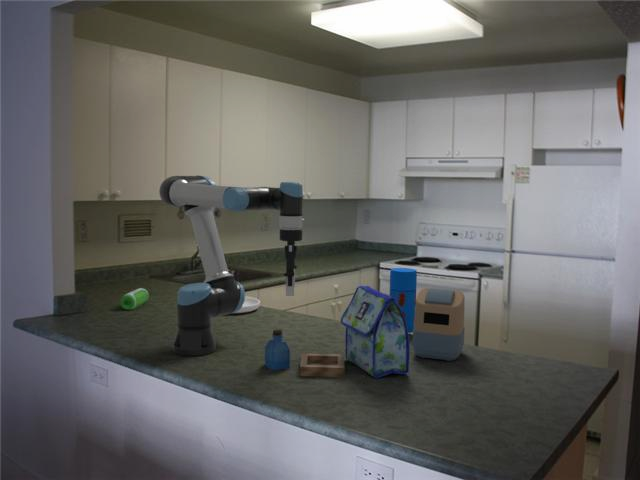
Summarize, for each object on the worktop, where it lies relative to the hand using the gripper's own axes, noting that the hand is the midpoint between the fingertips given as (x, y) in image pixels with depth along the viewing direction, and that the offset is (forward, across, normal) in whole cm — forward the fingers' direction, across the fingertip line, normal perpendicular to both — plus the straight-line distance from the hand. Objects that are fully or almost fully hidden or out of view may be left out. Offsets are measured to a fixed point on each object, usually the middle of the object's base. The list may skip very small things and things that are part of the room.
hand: (290, 291), depth 203 cm
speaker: (+24, +80, +74) cm, 112 cm away
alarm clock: (+24, +9, -53) cm, 59 cm away
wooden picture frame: (+24, -8, -11) cm, 28 cm away
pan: (+24, +83, +35) cm, 93 cm away
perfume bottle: (+24, -6, +4) cm, 25 cm away
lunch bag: (+24, -6, -28) cm, 38 cm away
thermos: (+24, +43, -45) cm, 67 cm away
